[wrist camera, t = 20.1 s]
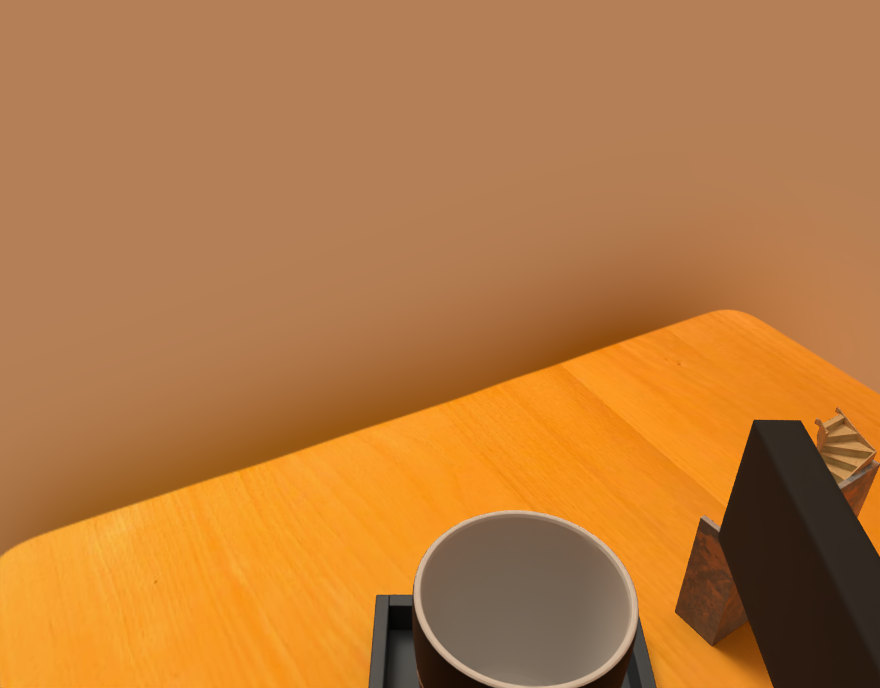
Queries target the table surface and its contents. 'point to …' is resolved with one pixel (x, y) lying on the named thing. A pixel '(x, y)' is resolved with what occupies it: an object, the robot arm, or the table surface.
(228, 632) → the table surface
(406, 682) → the tray
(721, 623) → the architectural model on board
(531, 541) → the mug
